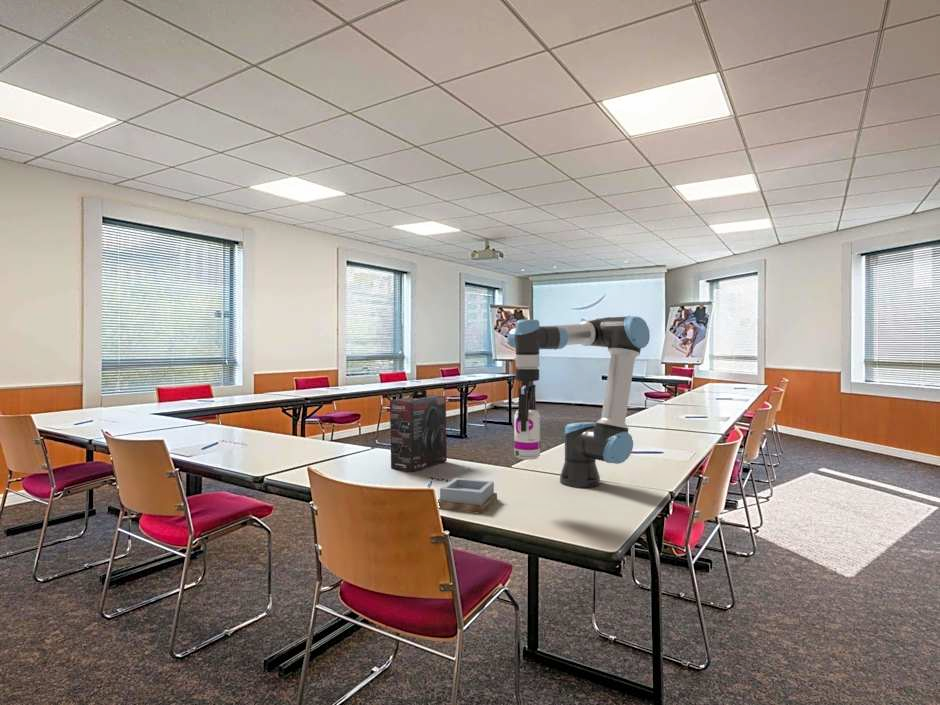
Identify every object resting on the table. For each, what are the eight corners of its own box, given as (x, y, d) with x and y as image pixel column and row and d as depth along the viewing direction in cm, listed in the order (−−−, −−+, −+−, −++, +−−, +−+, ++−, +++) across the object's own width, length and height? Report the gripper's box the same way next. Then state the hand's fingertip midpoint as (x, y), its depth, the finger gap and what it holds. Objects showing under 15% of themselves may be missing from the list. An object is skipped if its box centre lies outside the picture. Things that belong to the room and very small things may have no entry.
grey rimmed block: (493, 493, 179) (493, 481, 179) (481, 505, 166) (481, 492, 166) (455, 489, 183) (455, 478, 183) (440, 500, 170) (440, 488, 170)
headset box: (411, 472, 216) (411, 392, 215) (388, 468, 223) (388, 390, 222) (447, 462, 236) (447, 388, 235) (425, 458, 243) (426, 387, 242)
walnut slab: (496, 501, 179) (497, 493, 179) (482, 516, 164) (482, 506, 164) (453, 496, 185) (453, 488, 185) (435, 510, 169) (435, 501, 169)
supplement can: (533, 461, 162) (533, 412, 162) (509, 458, 167) (509, 411, 166) (544, 456, 169) (544, 410, 169) (521, 453, 173) (521, 408, 173)
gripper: (523, 366, 178) (523, 433, 179) (507, 369, 159) (507, 444, 159) (545, 366, 176) (545, 434, 176) (531, 370, 156) (531, 446, 157)
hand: (527, 439), depth 168 cm, fingers closed on supplement can, 8 cm apart
